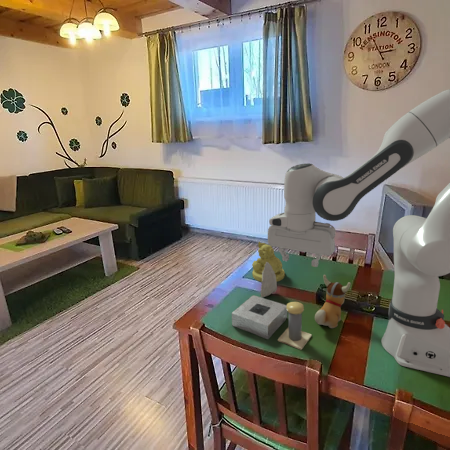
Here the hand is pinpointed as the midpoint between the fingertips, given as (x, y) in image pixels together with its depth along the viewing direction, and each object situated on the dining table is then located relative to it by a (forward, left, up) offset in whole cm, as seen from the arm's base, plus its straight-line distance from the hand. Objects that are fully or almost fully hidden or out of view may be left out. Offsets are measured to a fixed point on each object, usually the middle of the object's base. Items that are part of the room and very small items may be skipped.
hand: (299, 263), depth 100 cm
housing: (+14, +2, -25) cm, 28 cm away
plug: (0, +4, -24) cm, 25 cm away
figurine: (+29, -31, -25) cm, 49 cm away
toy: (-6, -10, -25) cm, 28 cm away
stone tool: (+20, -15, -25) cm, 35 cm away
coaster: (0, +4, -25) cm, 25 cm away
